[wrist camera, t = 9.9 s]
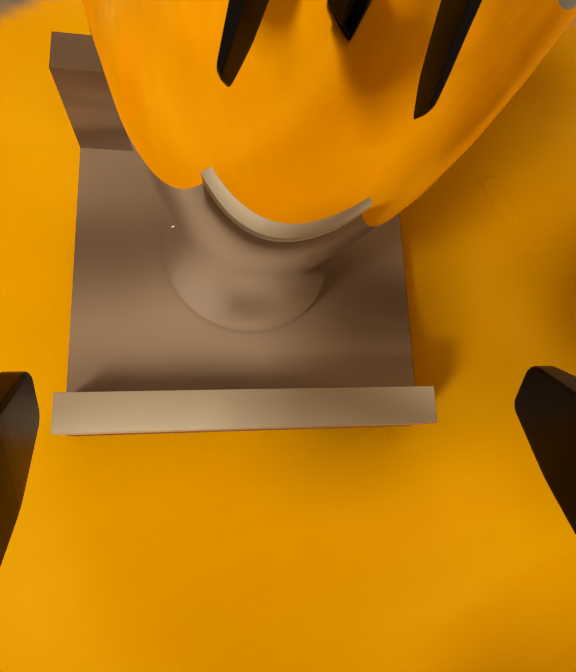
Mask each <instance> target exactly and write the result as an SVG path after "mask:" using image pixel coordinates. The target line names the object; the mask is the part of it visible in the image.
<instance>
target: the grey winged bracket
mask: <svg viewBox="0 0 576 672" xmlns="http://www.w3.org/2000/svg"><path fill="white" fill-rule="evenodd" d="M49 68H50V71H51V73H52V76H53V79H54V81H55V84H56V86H57V89H58V91H59V94H60V97H61V99H62V102H63V104H64V107H65V109H66V112H67V114H68V117H69V120H70V122H71V125H72V127H73V130H74V132H75V135H76V137H77V140H78V143H79V145H80V166H79V183H78V201H77V218H76V235H75V253H74V270H73V288H72V305H71V323H70V340H69V358H68V375H67V392H55V393H53V407H52V423H51V434H56V435H66V436H91V435H123V434H156V433H188V432H220V431H252V430H284V429H316V428H349V427H381V426H409V425H418V424H427V423H435V422H437V414H436V404H435V394H434V386H415V382H414V371H413V360H412V349H411V338H410V327H409V315H408V304H407V293H406V282H405V271H404V260H403V249H402V237H401V226H400V215H399V214H397V215H396V216H395V217H394V218H392V219H391V220H390V221H388V222H387V223H386V224H385V225H383V226H382V227H380V228H379V229H377V230H376V231H374V232H373V233H371V234H370V235H368V236H367V237H365V238H364V239H362V240H361V241H359V242H358V243H356V244H355V245H353V246H351V247H350V248H348V249H347V250H345V251H343V252H342V253H340V254H339V255H337V256H335V257H334V258H332V262H331V267H330V271H329V274H328V278H327V280H326V283H325V285H324V287H323V289H322V291H321V293H320V294H319V296H318V297H317V299H316V300H315V302H314V303H313V304H312V305H311V306H310V307H309V308H308V309H307V310H306V311H305V312H304V313H303V314H301V315H300V316H299V317H297V318H296V319H294V320H293V321H291V322H289V323H287V324H285V325H282V326H280V327H277V328H273V329H269V330H264V331H255V332H245V331H236V330H231V329H227V328H223V327H220V326H218V325H215V324H213V323H211V322H209V321H207V320H205V319H204V318H202V317H200V316H199V315H198V314H196V313H195V312H194V311H193V310H191V309H190V308H189V307H188V306H187V305H186V304H185V303H184V302H183V301H182V299H181V298H180V297H179V296H178V295H177V293H176V292H175V290H174V289H173V287H172V285H171V283H170V281H169V279H168V277H167V274H166V271H165V267H164V263H163V256H162V238H163V231H164V226H165V222H166V218H167V215H168V213H167V211H166V209H165V207H164V206H163V204H162V202H161V201H160V199H159V197H158V195H157V194H156V192H155V190H154V188H153V186H152V185H151V183H150V181H149V179H148V177H147V175H146V173H145V172H144V170H143V168H142V166H141V164H140V162H139V161H138V159H137V157H136V155H135V152H134V150H133V148H132V146H131V144H130V141H129V139H128V137H127V135H126V132H125V130H124V128H123V125H122V123H121V121H120V119H119V116H118V114H117V112H116V110H115V107H114V105H113V103H112V100H111V98H110V95H109V92H108V89H107V86H106V82H105V79H104V76H103V72H102V69H101V66H100V62H99V59H98V56H97V52H96V49H95V46H94V42H93V39H92V36H91V35H82V34H72V33H62V32H52V34H51V48H50V61H49Z"/></svg>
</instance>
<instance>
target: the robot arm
mask: <svg viewBox="0 0 576 672" xmlns="http://www.w3.org/2000/svg"><path fill="white" fill-rule="evenodd" d="M515 411H516V414H517V416H518V418H519V420H520V423H521V425H522V427H523V430H524V432H525V434H526V437H527V439H528V441H529V444H530V446H531V448H532V450H533V453H534V455H535V457H536V460H537V462H538V464H539V467H540V469H541V471H542V473H543V475H544V478H545V480H546V482H547V483H548V485H549V487H550V489H551V491H552V493H553V495H554V496H555V498H556V500H557V502H558V504H559V505H560V507H561V509H562V511H563V513H564V514H565V516H566V518H567V520H568V522H569V523H570V525H571V527H572V529H573V531H574V532H575V534H576V377H575V376H573V375H571V374H569V373H567V372H565V371H563V370H560V369H558V368H556V367H554V366H533V367H531V368H530V369H529V370H528V371H527V372H526V375H525V377H524V379H523V382H522V384H521V386H520V389H519V391H518V394H517V396H516V399H515ZM38 427H39V408H38V403H37V398H36V394H35V389H34V384H33V380H32V377H31V375H30V374H29V373H27V372H1V373H0V566H1V563H2V560H3V558H4V555H5V552H6V549H7V546H8V543H9V540H10V538H11V535H12V532H13V529H14V526H15V523H16V520H17V517H18V514H19V511H20V508H21V504H22V500H23V496H24V491H25V487H26V482H27V477H28V473H29V468H30V464H31V459H32V454H33V450H34V445H35V440H36V436H37V431H38Z"/></svg>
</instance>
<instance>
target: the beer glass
mask: <svg viewBox="0 0 576 672" xmlns="http://www.w3.org/2000/svg"><path fill="white" fill-rule="evenodd" d="M82 1H83V6H84V10H85V15H86V18H87V22H88V26H89V29H90V32H91V36H92V39H93V42H94V46H95V49H96V52H97V56H98V59H99V62H100V66H101V69H102V72H103V76H104V79H105V82H106V86H107V89H108V92H109V95H110V98H111V100H112V103H113V105H114V107H115V110H116V112H117V114H118V116H119V119H120V121H121V123H122V125H123V128H124V130H125V132H126V135H127V137H128V139H129V141H130V144H131V146H132V148H133V150H134V152H135V155H136V157H137V159H138V161H139V162H140V164H141V166H142V168H143V170H144V172H145V173H146V175H147V177H148V179H149V181H150V183H151V185H152V186H153V188H154V190H155V192H156V194H157V195H158V197H159V199H160V201H161V202H162V204H163V206H164V207H165V209H166V211H167V213H168V215H167V218H166V222H165V226H164V231H163V238H162V256H163V263H164V267H165V271H166V274H167V277H168V279H169V281H170V283H171V285H172V287H173V289H174V290H175V292H176V293H177V295H178V296H179V297H180V298H181V299H182V301H183V302H184V303H185V304H186V305H187V306H188V307H189V308H190V309H191V310H193V311H194V312H195V313H196V314H198V315H199V316H200V317H202V318H204V319H205V320H207V321H209V322H211V323H213V324H215V325H218V326H220V327H223V328H227V329H231V330H236V331H245V332H255V331H264V330H269V329H273V328H277V327H280V326H282V325H285V324H287V323H289V322H291V321H293V320H294V319H296V318H297V317H299V316H300V315H301V314H303V313H304V312H305V311H306V310H307V309H308V308H309V307H310V306H311V305H312V304H313V303H314V302H315V300H316V299H317V297H318V296H319V294H320V293H321V291H322V289H323V287H324V285H325V283H326V280H327V278H328V274H329V271H330V267H331V262H332V258H334V257H335V256H337V255H339V254H340V253H342V252H343V251H345V250H347V249H348V248H350V247H351V246H353V245H355V244H356V243H358V242H359V241H361V240H362V239H364V238H365V237H367V236H368V235H370V234H371V233H373V232H374V231H376V230H377V229H379V228H380V227H382V226H383V225H385V224H386V223H387V222H388V221H390V220H391V219H392V218H394V217H395V216H396V215H397V214H399V213H400V212H401V211H402V210H404V209H405V208H406V207H407V206H409V205H410V204H411V203H413V202H414V201H415V200H416V199H418V198H419V197H420V196H421V195H423V194H424V193H425V192H426V191H427V190H428V189H429V188H430V187H432V186H433V185H434V184H435V183H436V181H437V180H438V179H439V178H440V177H441V176H442V175H443V174H444V173H445V172H446V171H447V170H448V169H449V168H450V167H451V166H452V165H453V164H454V163H455V162H456V161H457V160H458V159H459V158H460V157H461V156H462V155H463V154H464V153H465V152H466V151H467V150H468V149H469V148H470V147H471V146H472V145H473V144H474V142H475V141H476V140H477V139H478V138H479V137H480V136H481V135H482V133H483V132H484V131H485V130H486V129H487V127H488V126H489V125H490V124H491V123H492V121H493V120H494V119H495V118H496V117H497V115H498V114H499V113H500V112H501V111H502V109H503V108H504V107H505V106H506V105H507V103H508V102H509V101H510V100H511V99H512V97H513V96H514V95H515V94H516V93H517V91H518V90H519V89H520V88H521V87H522V85H523V84H524V83H525V82H526V81H527V79H528V78H529V77H530V76H531V75H532V73H533V72H534V71H535V69H536V68H537V67H538V65H539V64H540V63H541V61H542V60H543V59H544V58H545V56H546V55H547V54H548V52H549V51H550V50H551V48H552V47H553V46H554V44H555V43H556V42H557V40H558V39H559V38H560V36H561V35H562V34H563V33H564V31H565V30H566V29H567V27H568V26H569V25H570V23H571V22H572V21H573V19H574V18H575V17H576V0H82Z"/></svg>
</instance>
